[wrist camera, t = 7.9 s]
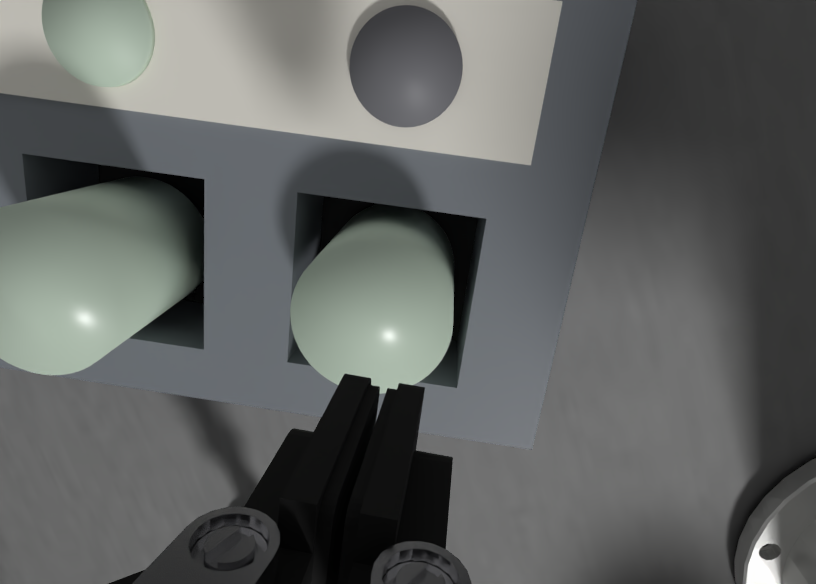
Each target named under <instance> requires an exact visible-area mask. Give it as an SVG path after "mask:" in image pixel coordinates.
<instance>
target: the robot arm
mask: <svg viewBox="0 0 816 584" xmlns="http://www.w3.org/2000/svg"><path fill="white" fill-rule="evenodd" d="M424 392H425V387H420V386H414V385H409V384H403V383H399V384H398V388H397V390H396V389H391V388H387V391H386V394H385V397H384V400H383V403H382V406H381V409H380V412H379V415H378V418H377V410H378V402H379V394H380V387H379V386H373V385H371V378H368V377H362V376H356V375H351V374H344V375H343V377H342V379H341V381H340V383H339V385H338V387H337V389H336V391H335V393H334V394H333V396H332V398H331V400H330V402H329V404H328V406H327V408H326V410H325V412H324V414H323V416H322V417H321V419H320V421H319V423H318V425H317V427H316V429H315V431H314V432H310V431H305V430H299V429H291V431H290V432H289V433H288V435H287V437H286V438H285V440H284V442H283V443H282V445H281V447H280V448H279V450H278V452H277V453H276V455H275V457H274V458H273V460H272V462H271V463H270V465H269V467H268V468H267V470H266V472H265V473H264V475H263V477H262V478H261V480H260V482H259V483H258V485H257V487H256V488H255V490H254V492H253V493H252V495H251V497H250V498H249V500H248V502H247V503H246V505H245V507H226V508H221V509H217V510H213V511H210V512H208V513H206V514H204V515H202V516H200V517H198V518H197V519H195V520H194V521H193V522H192V523H190V524H189V525H188V526H187V527H186V528H185V529H184V530H183V531H182V532H181V533H180V534H179V535H178V536H177V537H176V538H175V539H174V540H173V541H172V543H171V544H170V545H169V546H168V547H167V548H166V549H165V550H164V551H163V552H162V553H161V554H160V555H159V556H158V557H157V558H156V559H155V560H154V561H153V562H152V563H151V565H150V566H149V567H148V568H147V569H146V570H143V571H141V572H138V573H135V574H133V575H130V576H127V577H125V578H122V579H119V580H117V581H114V582H112V583H109V584H472V583H471V580H470V577H469V574H468V571H467V569H466V568H465V567H464V565H463V564H462V563H461V561H460V560H459V559H458V558H457V557H455V556H454V555H453V554H452V553H450V552H449V551H448V550H446V536H447V524H448V511H449V499H450V486H451V474H452V460H453V458H452V457H448V456H443V455H437V454H432V453H426V452H421V451H416V444H417V438H418V431H419V425H420V418H421V412H422V405H423V399H424ZM376 418H377V421H376ZM734 565H735V582H736V584H816V458H815V459H813V460H811V461H809V462H808V463H806V464H805V465H803V466H802V467H800V468H799V469H797V470H796V471H794V472H793V473H791V474H790V475H788V476H787V477H785V478H784V479H783V480H782V481H781V482H780V483H779V484H778V485H776V486H775V487H774V488H773V489H772V490H771V491H770V492H769V493H768V494H767V495H766V496H765V497H764V498H763V499H762V501H761V502H760V503H759V505H758V506H757V507H756V509H755V510H754V511H753V513H752V514H751V515H750V517H749V518H748V521H747V523H746V525H745V527H744V529H743V531H742V533H741V535H740V538H739V541H738V545H737V550H736V555H735V559H734Z"/></svg>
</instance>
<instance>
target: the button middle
mask: <svg viewBox="0 0 816 584" xmlns="http://www.w3.org/2000/svg"><path fill="white" fill-rule="evenodd" d="M203 279H204V220H203V218H202V216H201V214H200V213H199V211H198V209H197V208H196V207H195V206H194V204H193V203H192V202H191V201H190V200H189V199H188V198H187V197H186V196H185V195H184V194H183V193H181V192H180V191H179V190H177V189H176V188H174V187H173V186H171V185H169V184H167V183H165V182H163V181H160V180H157V179H154V178H149V177H140V176H134V177H126V178H121V179H117V180H113V181H109V182H105V183H100V184H96V185H92V186H88V187H84V188H79V189H75V190H71V191H67V192H63V193H58V194H54V195H50V196H46V197H42V198H38V199H33V200H29V201H25V202H21V203H17V204H12V205H8V206H4V207H0V359H2V360H4V361H5V362H7V363H9V364H11V365H13V366H15V367H18V368H20V369H23V370H26V371H29V372H33V373H38V374H44V375H65V374H71V373H75V372H78V371H81V370H83V369H85V368H87V367H89V366H91V365H92V364H94V363H95V362H97V361H98V360H100V359H101V358H102V357H104V356H105V355H106V354H108V353H109V352H111V351H112V350H113V349H115V348H116V347H117V346H119V345H120V344H121V343H123V342H124V341H126V340H127V339H128V338H130V337H131V336H132V335H134V334H135V333H137V332H138V331H139V330H141V329H142V328H143V327H145V326H146V325H147V324H149V323H150V322H152V321H153V320H154V319H156V318H157V317H158V316H160V315H161V314H163V313H164V312H165V311H167V310H168V309H169V308H171V307H172V306H173V305H175V304H176V303H178V302H179V301H180V300H182V299H183V298H184V297H186V296H187V295H189V294H190V293H191V292H193V291H194V290H195V289H196V288H197V287H198V286H199V285H200V283H201V282H202V281H203Z"/></svg>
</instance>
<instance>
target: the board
mask: <svg viewBox="0 0 816 584" xmlns="http://www.w3.org/2000/svg"><path fill="white" fill-rule="evenodd" d="M636 4H637V0H0V207H4V206H8V205H12V204H17V203H21V202H25V201H29V200H33V199H38V198H42V197H46V196H50V195H54V194H58V193H63V192H67V191H71V190H75V189H79V188H84V187H88V186H92V185H96V184H100V183H99V166H98V164H100V165H107V166H114V167H121V168H128V169H135V170H143V171H150V172H157V173H164V174H171V175H178V176H185V177H193V178H200V179H204V303H197V302H190V301H184V300H180V301H179V302H178V303H176V304H175V305H173V306H172V307H171V308H169V309H168V310H167V311H165V312H164V313H163V314H161V315H160V316H158V317H157V318H156V319H154V320H153V321H152V322H150V323H149V324H147V325H146V326H145V327H143V328H142V329H141V330H139V331H138V332H137V333H135V334H134V335H132V336H131V337H130V338H128V339H127V340H126V341H124V342H123V343H121V344H120V345H119V346H117V347H116V348H115V349H113V350H112V351H111V352H109V353H108V354H106V355H105V356H104V357H102V358H101V359H100V360H98V361H97V362H95V363H94V364H92V365H91V366H89V367H87V368H85V369H83V370H81V371H78V372H75V373H71V374H65V375H52V376H58V377H64V378H71V379H77V380H84V381H90V382H97V383H103V384H110V385H116V386H123V387H129V388H135V389H142V390H148V391H155V392H161V393H168V394H174V395H181V396H187V397H194V398H200V399H206V400H213V401H219V402H226V403H232V404H239V405H245V406H252V407H258V408H264V409H271V410H277V411H284V412H290V413H297V414H303V415H310V416H316V417H322V416H323V414H324V412H325V410H326V408H327V406H328V404H329V402H330V400H331V398H332V396H333V394H334V393H335V391H336V389H337V387H338V385H337V384H335V383H333V382H331V381H330V380H328V379H327V378H325V377H324V376H322V375H321V374H320V373H319V372H317V371H316V370H315V369H314V368H313V367H312V366H311V365H310V363H309V362H308V361H307V360H306V358H305V357H304V356H303V354H302V352H301V351H300V349H299V347H298V345H297V343H296V340H295V338H294V334H293V331H292V326H291V320H290V307H291V300H292V296H293V292H294V289H295V287H296V284H297V282H298V280H299V278H300V277H301V275H302V274H303V272H304V271H305V270H306V268H307V267H308V266H309V265H310V264H311V263H312V261H313V260H314V259H315V258H316V257H317V256H318V255H319V253H320V240H321V227H322V214H323V200H324V196H328V197H335V198H342V199H349V200H356V201H364V202H371V203H378V204H385V205H392V206H399V207H406V208H414V209H421V210H428V211H435V212H442V213H449V214H456V215H463V216H471V217H478V220H477V226H476V232H475V238H474V244H473V250H472V256H471V262H470V268H469V274H468V279H467V285H466V291H465V297H464V303H463V309H462V315H461V321H460V327H459V333H458V339H457V341H453V340H451V341H450V344H449V347H448V349H447V352H446V353H445V355H444V357H443V359H442V360H441V362H440V363H439V364H438V366H437V367H436V368H435V369H434V370H433V371H432V372H431V373H430V374H429V375H428V376H427V377H425V378H424V379H423V380H421V381H420V382H418V383H416V384H414V386H420V387H425V392H424V399H423V405H422V412H421V418H420V425H419V431H418V432H419V433H426V434H432V435H439V436H445V437H452V438H458V439H465V440H471V441H477V442H484V443H490V444H497V445H503V446H510V447H516V448H523V449H529V450H532V448H533V443H534V439H535V435H536V431H537V426H538V422H539V418H540V414H541V409H542V405H543V401H544V397H545V392H546V388H547V384H548V379H549V375H550V371H551V367H552V362H553V358H554V354H555V350H556V345H557V341H558V337H559V333H560V328H561V324H562V320H563V315H564V311H565V307H566V303H567V298H568V294H569V290H570V286H571V281H572V277H573V273H574V269H575V264H576V260H577V256H578V251H579V247H580V243H581V239H582V234H583V230H584V226H585V222H586V217H587V213H588V209H589V205H590V200H591V196H592V192H593V188H594V183H595V179H596V175H597V170H598V166H599V162H600V158H601V153H602V149H603V145H604V141H605V136H606V132H607V128H608V124H609V119H610V115H611V111H612V106H613V102H614V98H615V94H616V89H617V85H618V81H619V77H620V72H621V68H622V64H623V60H624V55H625V51H626V47H627V42H628V38H629V34H630V30H631V25H632V21H633V17H634V13H635V8H636ZM0 368H6V369H13V370H19V371H26V370H23V369H20V368H18V367H15V366H13V365H11V364H9V363H7V362H5V361H4V360H2V359H0ZM26 372H29V371H26ZM32 373H33V372H32ZM385 394H386V393H383V394H379V402H378V410H377V418H378V415H379V412H380V409H381V406H382V403H383V400H384V397H385ZM377 418H376V421H377Z"/></svg>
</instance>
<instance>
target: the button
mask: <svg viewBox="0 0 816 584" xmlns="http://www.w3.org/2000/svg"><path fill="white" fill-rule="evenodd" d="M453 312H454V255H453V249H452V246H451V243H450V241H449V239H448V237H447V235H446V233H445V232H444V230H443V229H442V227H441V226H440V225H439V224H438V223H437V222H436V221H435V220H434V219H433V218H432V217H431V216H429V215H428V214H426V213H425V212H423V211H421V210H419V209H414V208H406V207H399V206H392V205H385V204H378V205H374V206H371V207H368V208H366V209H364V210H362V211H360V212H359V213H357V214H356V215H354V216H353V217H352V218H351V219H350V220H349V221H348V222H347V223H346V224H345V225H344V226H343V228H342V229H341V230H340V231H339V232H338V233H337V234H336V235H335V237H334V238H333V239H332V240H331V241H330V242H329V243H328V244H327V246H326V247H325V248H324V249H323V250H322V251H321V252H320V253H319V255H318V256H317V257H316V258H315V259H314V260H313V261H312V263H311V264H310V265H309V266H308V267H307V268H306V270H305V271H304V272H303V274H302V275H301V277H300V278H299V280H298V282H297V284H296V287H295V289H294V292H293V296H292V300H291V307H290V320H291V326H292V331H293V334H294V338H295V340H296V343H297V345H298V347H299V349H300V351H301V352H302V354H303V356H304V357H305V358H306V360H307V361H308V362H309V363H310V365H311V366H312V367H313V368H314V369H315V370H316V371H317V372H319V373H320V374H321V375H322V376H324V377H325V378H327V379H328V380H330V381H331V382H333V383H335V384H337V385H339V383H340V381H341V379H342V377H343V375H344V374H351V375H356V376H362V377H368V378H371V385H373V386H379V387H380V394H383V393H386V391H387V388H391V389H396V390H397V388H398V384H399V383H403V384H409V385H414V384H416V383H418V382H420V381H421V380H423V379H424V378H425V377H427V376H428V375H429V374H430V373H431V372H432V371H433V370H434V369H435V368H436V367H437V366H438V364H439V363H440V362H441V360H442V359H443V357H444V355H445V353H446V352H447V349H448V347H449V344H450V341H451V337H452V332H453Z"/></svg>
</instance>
